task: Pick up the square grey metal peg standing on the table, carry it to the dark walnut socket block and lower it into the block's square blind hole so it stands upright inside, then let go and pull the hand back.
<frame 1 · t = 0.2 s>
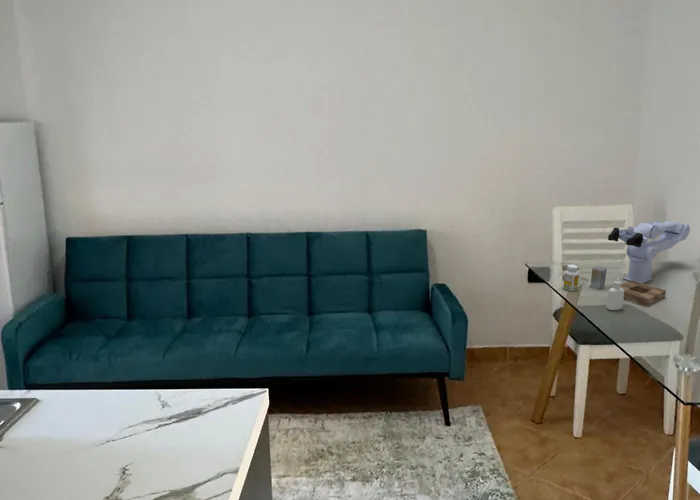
hand: (617, 240, 252), 21 cm above the table, tool horizontal, fingers open, 7 cm apart
peg: (597, 286, 263), on the table
socket block: (638, 296, 252), on the table
supplement bottle: (570, 289, 261), on the table
eye dropper bottle: (613, 309, 242), on the table
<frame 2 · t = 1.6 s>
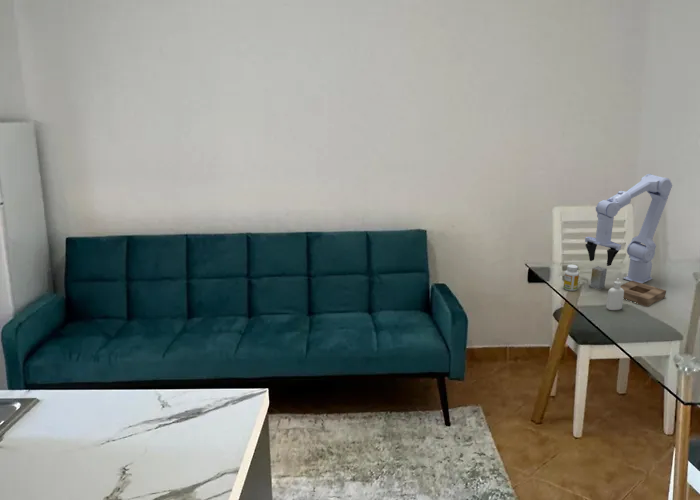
hand: (600, 262, 259), 10 cm above the table, tool pointing down, fingers open, 7 cm apart
nothing on the table moved.
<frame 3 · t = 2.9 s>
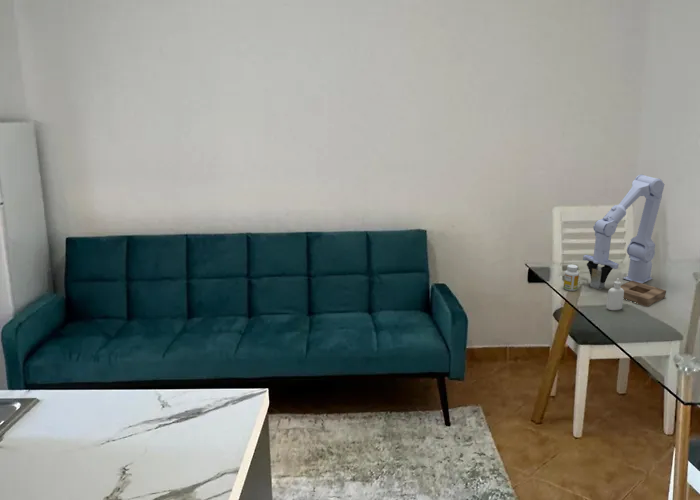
hand: (598, 280, 262), 3 cm above the table, tool pointing down, fingers closed on peg, 4 cm apart
peg: (597, 286, 263), on the table, touching gripper
everything else where it was.
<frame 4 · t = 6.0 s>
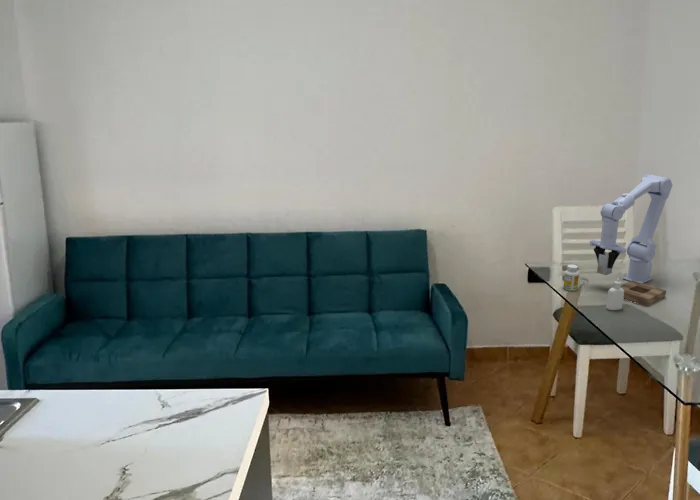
hand: (605, 266, 258), 9 cm above the table, tool pointing down, fingers closed on peg, 4 cm apart
peg: (604, 272, 259), point 7 cm above the table, touching gripper
everything else where it was.
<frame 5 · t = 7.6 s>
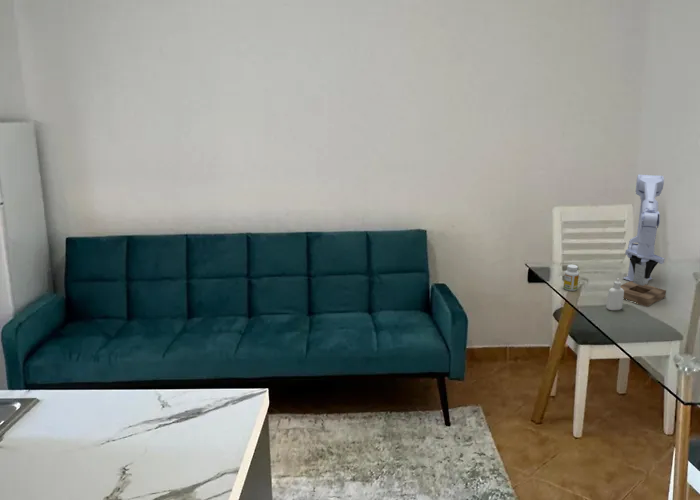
hand: (641, 276, 250), 9 cm above the table, tool pointing down, fingers closed on peg, 4 cm apart
peg: (640, 283, 251), point 6 cm above the table, touching gripper
everything else where it was.
when the fingers open (4 cm above the table, at t = 9.0 s): peg stays where it is, resting on socket block.
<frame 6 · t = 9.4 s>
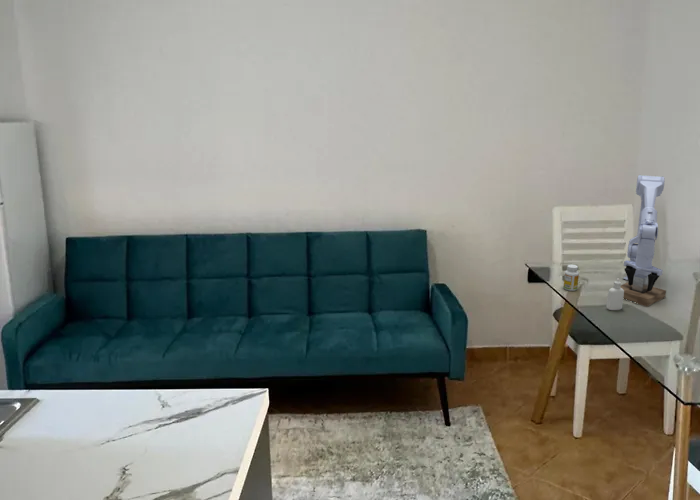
hand: (639, 287, 251), 4 cm above the table, tool pointing down, fingers open, 7 cm apart
peg: (638, 295, 252), point 1 cm above the table, touching socket block
everything else where it was.
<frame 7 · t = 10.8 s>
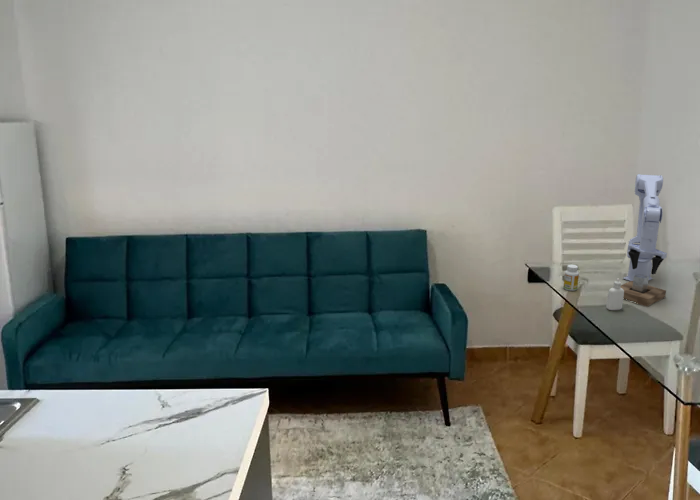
hand: (643, 271, 250), 10 cm above the table, tool pointing down, fingers open, 7 cm apart
nothing on the table moved.
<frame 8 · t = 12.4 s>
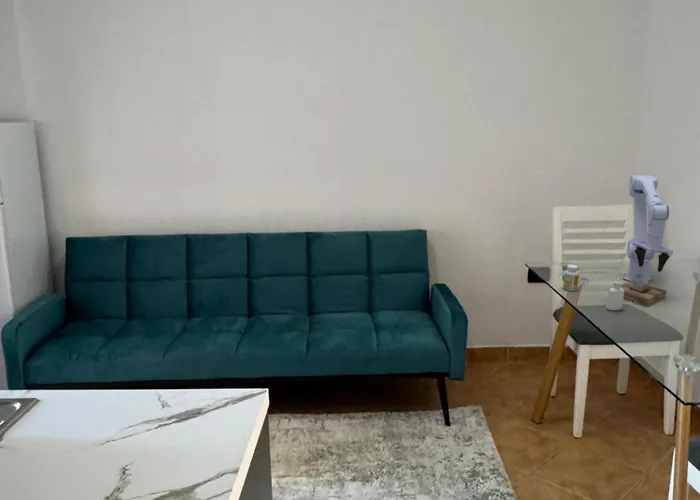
hand: (650, 268, 252), 10 cm above the table, tool pointing down, fingers open, 7 cm apart
nothing on the table moved.
at the end: peg 0.1 cm off-centre on the socket block, point 0.6 cm above the socket block's base; peg tilted 0°; the gripper is holding nothing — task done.
